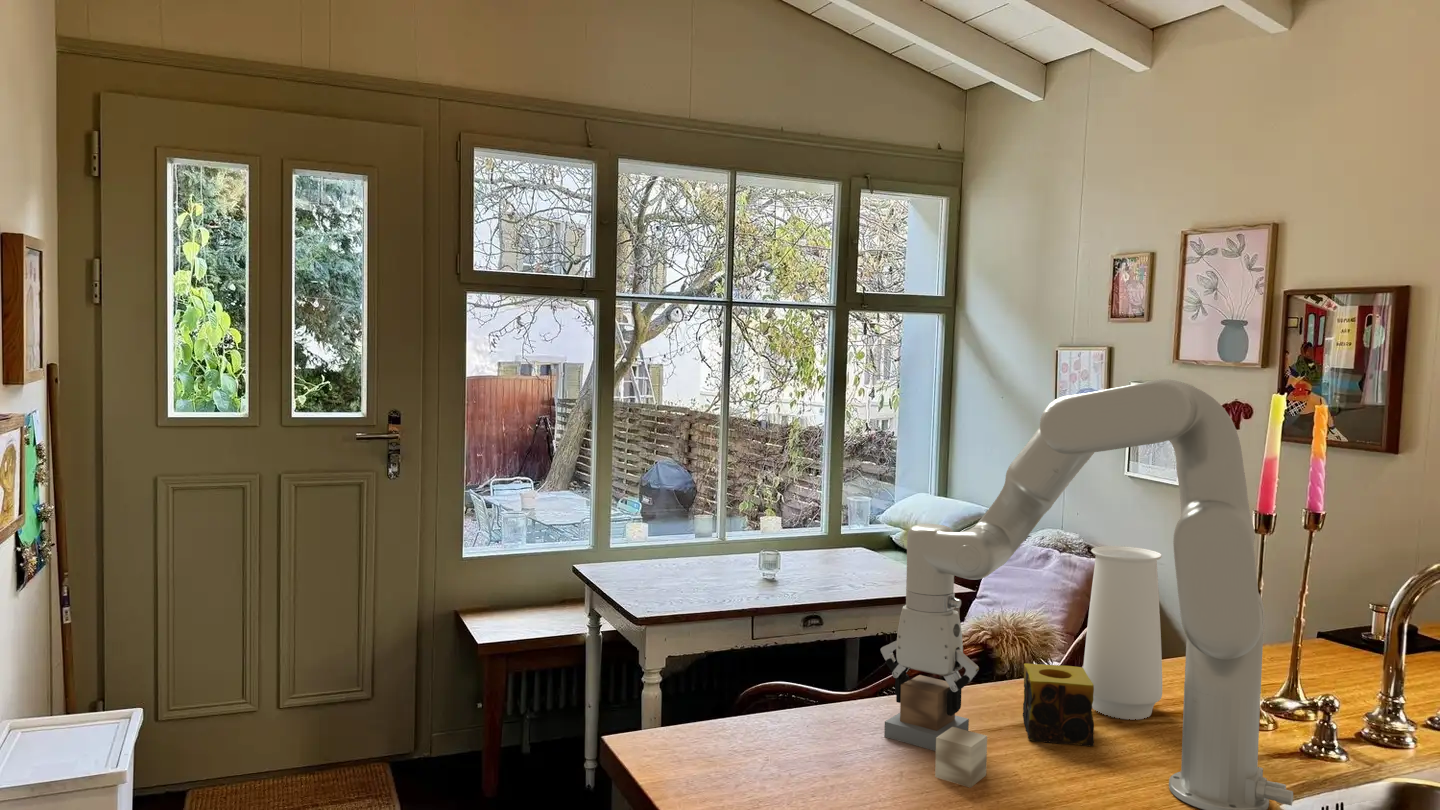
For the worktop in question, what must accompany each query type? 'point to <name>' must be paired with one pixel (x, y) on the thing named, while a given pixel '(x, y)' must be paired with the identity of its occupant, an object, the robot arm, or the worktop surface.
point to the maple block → (961, 756)
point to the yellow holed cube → (1058, 704)
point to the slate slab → (919, 731)
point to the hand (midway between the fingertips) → (927, 706)
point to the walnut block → (925, 703)
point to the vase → (1124, 632)
